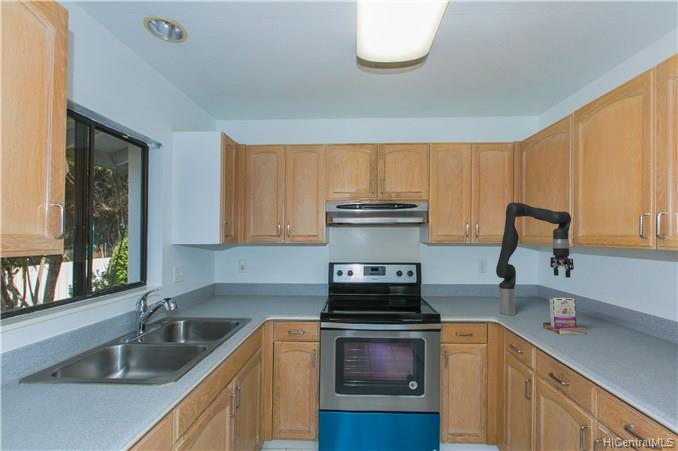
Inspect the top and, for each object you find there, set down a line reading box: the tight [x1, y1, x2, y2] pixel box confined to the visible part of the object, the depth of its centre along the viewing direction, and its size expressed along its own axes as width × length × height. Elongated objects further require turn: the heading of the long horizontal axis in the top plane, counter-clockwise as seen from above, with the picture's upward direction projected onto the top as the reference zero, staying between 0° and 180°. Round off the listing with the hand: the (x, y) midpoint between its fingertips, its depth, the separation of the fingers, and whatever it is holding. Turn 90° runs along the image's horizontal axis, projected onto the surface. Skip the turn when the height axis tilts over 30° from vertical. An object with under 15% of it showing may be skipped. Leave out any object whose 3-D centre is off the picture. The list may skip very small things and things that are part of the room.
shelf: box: [542, 321, 587, 336], centre depth 178 cm, size 14×14×3 cm
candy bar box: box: [549, 297, 578, 329], centre depth 179 cm, size 11×5×16 cm, turn 81°
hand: (561, 276), depth 179 cm, fingers open, 8 cm apart
